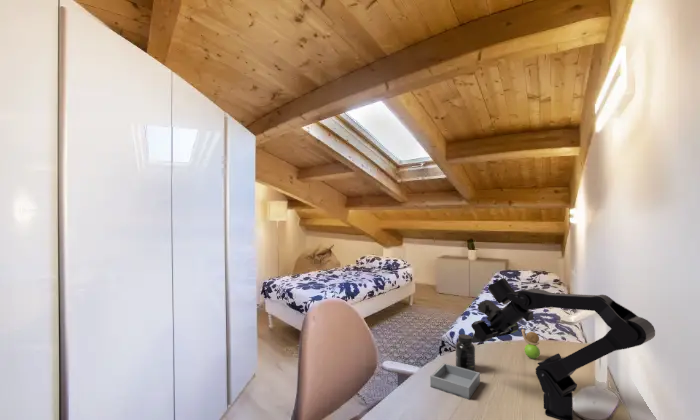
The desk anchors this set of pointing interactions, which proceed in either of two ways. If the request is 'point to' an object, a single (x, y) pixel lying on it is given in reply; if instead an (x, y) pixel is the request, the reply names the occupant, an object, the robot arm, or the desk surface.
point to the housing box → (455, 380)
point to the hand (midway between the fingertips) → (480, 339)
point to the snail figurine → (531, 344)
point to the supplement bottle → (465, 352)
